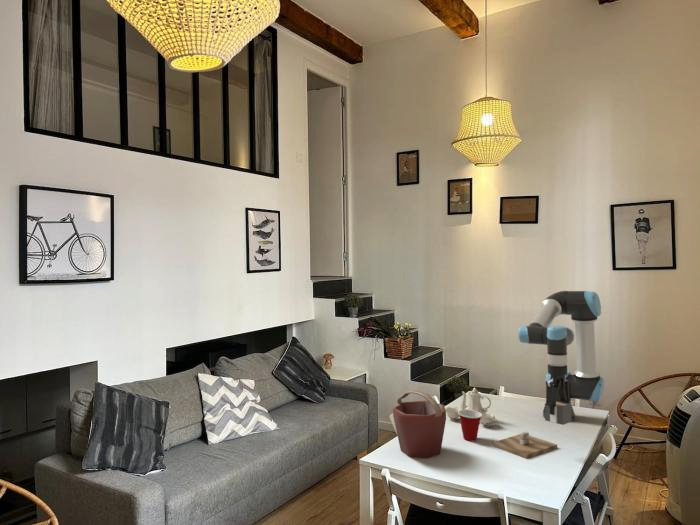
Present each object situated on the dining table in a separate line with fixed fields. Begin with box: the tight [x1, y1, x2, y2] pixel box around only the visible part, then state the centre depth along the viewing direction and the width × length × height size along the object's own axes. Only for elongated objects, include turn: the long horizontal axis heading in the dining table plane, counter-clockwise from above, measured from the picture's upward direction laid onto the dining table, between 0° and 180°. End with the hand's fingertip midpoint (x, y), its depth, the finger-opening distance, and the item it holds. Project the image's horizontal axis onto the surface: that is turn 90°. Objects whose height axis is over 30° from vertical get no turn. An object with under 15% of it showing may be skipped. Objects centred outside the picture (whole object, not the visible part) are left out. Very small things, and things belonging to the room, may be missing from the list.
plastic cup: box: [458, 410, 482, 442], centre depth 243 cm, size 11×11×12 cm
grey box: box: [544, 401, 573, 425], centre depth 220 cm, size 8×6×7 cm
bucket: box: [392, 390, 447, 460], centre depth 230 cm, size 24×22×25 cm
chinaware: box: [445, 387, 498, 428], centre depth 268 cm, size 28×17×17 cm, turn 56°
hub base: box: [491, 431, 558, 459], centre depth 231 cm, size 20×18×6 cm
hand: (558, 420), depth 220 cm, fingers closed on grey box, 6 cm apart
